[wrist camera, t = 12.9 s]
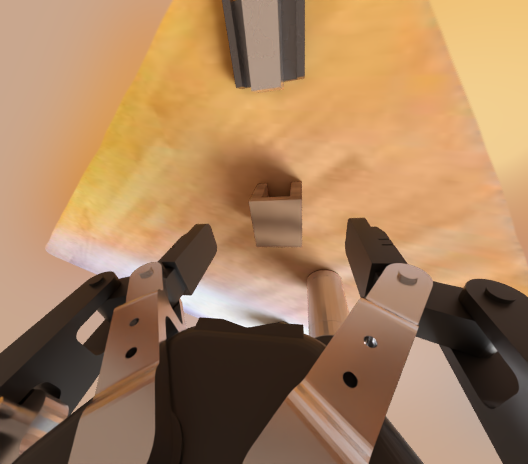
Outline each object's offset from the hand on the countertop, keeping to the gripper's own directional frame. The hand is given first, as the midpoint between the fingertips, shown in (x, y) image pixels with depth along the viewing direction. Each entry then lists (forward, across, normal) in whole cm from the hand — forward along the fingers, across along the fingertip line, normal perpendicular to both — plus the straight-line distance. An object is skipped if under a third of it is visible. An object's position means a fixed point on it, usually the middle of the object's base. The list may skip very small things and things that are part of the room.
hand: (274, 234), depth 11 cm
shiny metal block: (+27, +2, -15) cm, 31 cm away
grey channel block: (+28, +2, -15) cm, 31 cm away
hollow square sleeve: (+29, +3, +11) cm, 31 cm away
